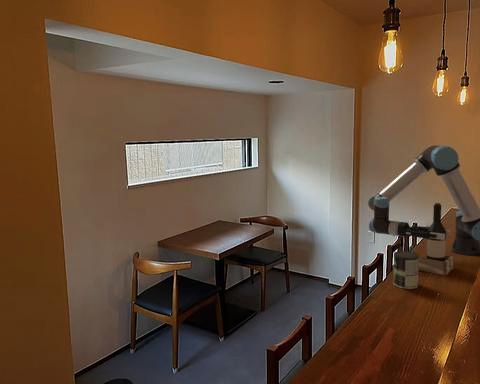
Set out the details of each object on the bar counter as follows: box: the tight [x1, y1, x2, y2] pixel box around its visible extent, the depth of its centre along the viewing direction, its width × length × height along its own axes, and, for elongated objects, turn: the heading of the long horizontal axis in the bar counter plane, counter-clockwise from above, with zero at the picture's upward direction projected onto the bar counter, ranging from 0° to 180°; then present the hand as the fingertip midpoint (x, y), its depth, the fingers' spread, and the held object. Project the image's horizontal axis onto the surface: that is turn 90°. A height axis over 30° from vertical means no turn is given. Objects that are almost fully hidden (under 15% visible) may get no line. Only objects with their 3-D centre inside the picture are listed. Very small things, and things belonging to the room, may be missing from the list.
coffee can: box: [392, 250, 420, 290], centre depth 175 cm, size 10×10×14 cm
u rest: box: [418, 252, 455, 276], centre depth 194 cm, size 12×12×6 cm
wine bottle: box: [426, 202, 447, 262], centre depth 192 cm, size 8×8×30 cm
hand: (447, 235), depth 189 cm, fingers closed on wine bottle, 8 cm apart
